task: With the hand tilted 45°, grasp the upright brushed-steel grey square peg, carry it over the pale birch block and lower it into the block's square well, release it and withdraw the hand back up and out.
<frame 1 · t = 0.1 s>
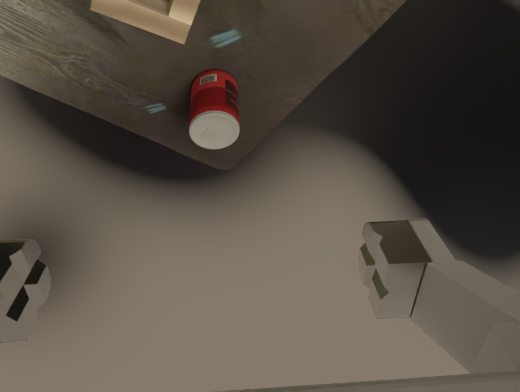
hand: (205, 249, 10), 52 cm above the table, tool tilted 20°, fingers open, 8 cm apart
canned food: (214, 86, 70), on the table
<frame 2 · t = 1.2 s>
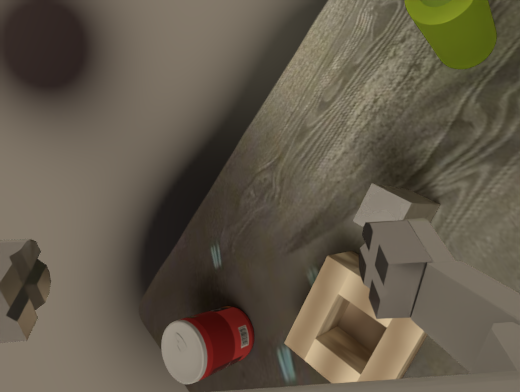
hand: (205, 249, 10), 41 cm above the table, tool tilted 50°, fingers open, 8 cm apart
grey square peg: (415, 212, 47), on the table
well: (371, 319, 50), on the table
canned food: (235, 331, 62), on the table
soap dispenser: (460, 43, 45), on the table
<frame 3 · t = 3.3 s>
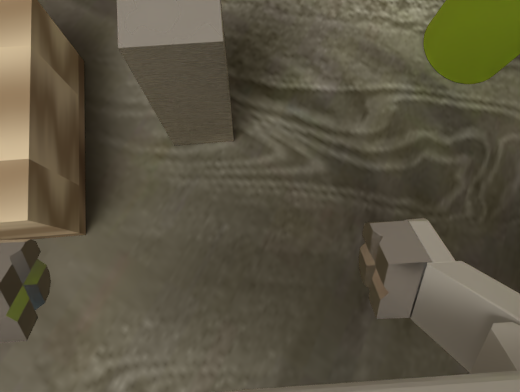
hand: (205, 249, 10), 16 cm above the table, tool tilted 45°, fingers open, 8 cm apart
grey square peg: (202, 115, 28), on the table
soap dispenser: (458, 41, 30), on the table
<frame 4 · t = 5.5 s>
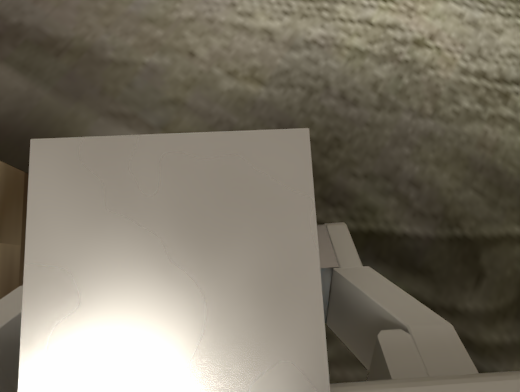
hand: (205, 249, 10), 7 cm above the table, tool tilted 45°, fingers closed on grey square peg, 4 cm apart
grey square peg: (221, 273, 17), on the table, touching gripper
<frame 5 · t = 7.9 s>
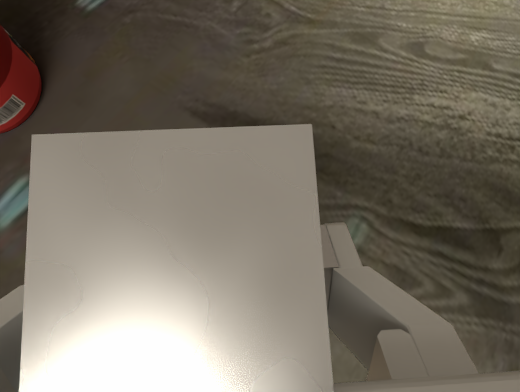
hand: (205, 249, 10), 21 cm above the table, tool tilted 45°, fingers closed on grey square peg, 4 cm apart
grey square peg: (222, 272, 17), point 14 cm above the table, touching gripper
when the fingers open (10 cm above the table, at t = 10.8 s): grey square peg drops 1 cm, resting on well.
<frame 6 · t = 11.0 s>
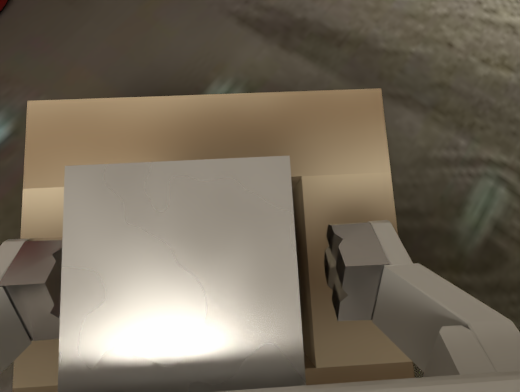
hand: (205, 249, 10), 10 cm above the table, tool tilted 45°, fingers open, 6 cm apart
grey square peg: (223, 273, 19), point 1 cm above the table, touching well
well: (224, 273, 20), on the table
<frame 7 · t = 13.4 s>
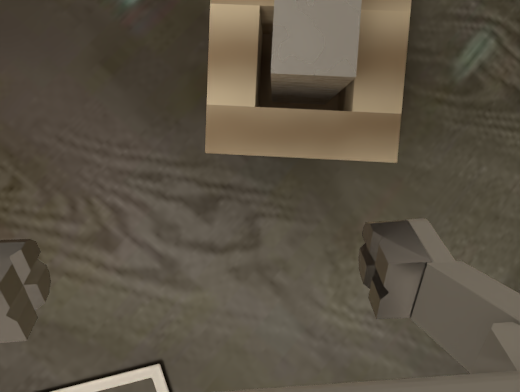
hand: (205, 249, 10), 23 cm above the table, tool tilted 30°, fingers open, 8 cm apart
grey square peg: (300, 76, 31), point 1 cm above the table, touching well
well: (299, 78, 32), on the table
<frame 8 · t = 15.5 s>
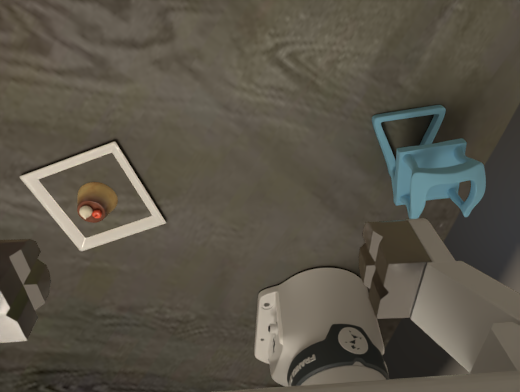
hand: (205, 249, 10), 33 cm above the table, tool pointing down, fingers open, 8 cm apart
chair: (404, 142, 47), on the table
dessert: (99, 194, 49), on the table
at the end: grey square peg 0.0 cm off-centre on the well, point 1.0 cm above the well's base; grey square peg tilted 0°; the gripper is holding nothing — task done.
